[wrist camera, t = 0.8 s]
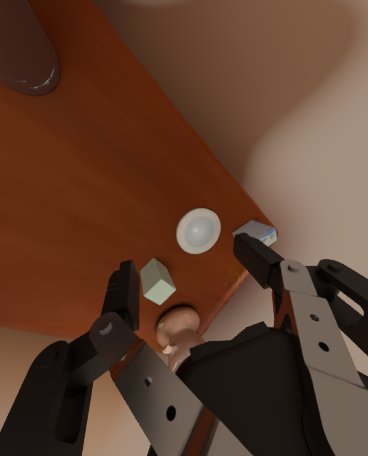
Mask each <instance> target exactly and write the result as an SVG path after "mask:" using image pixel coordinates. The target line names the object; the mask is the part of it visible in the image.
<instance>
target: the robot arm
mask: <svg viewBox="0 0 368 456" xmlns="http://www.w3.org/2000/svg"><path fill="white" fill-rule="evenodd" d="M59 76H60V66H59V61H58V57H57V54H56V52H55V50H54V48H53V45H52V44H51V42H50V40H49V38H48V37H47V35H46V33H45V31H44V30H43V28H42V26H41V24H40V22H39V20H38V19H37V17H36V15H35V13H34V12H33V10H32V8H31V6H30V5H29V3H28V1H27V0H0V81H1V82H2V83H4V84H5V85H6V86H8V87H10V88H12V89H14V90H15V91H18V92H21V93H23V94H28V95H43V94H47V93H49V92H50V91H52V90H53V89H54V88H55V87H56V85H57V83H58V81H59ZM233 252H234V255H235V257H236V258H237V259H238V260H239V261H240V262H241V264H242V265H243V266H244V267H245V268H246V269H247V270H248V272H249V273H250V274H251V275H252V276H253V277H254V278H255V280H256V281H257V282H258V283H259V284H260V285H261V286H262V288H263V289H267V288H269V287H270V288H271V289H272V300H273V310H274V327H267V326H266V324H265V323H264V322H263V321H262V322H260V323H257V324H254V325H252V326H249V327H246V328H245V329H244V330H243V331H241V332H240V333H239V334H238V335H237V336H235V337H234V338H233V339H232V340H228V341H208V342H205V343H203V344H200V345H197V346H194V347H192V348H189V351H190V355H189V356H188V357H187V358H186V359H185V360H184V361H183V362H182V363H181V364H180V366H179V367H178V369H177V370H176V372H175V373H174V372H173V371H172V370H171V369H170V368H169V367H168V366H167V365H166V364H165V363H164V362H163V360H162V359H161V358H160V357H159V356H158V355H157V354H156V353H155V352H154V351H153V349H152V348H151V347H150V346H149V345H148V344H147V343H146V342H145V341H144V340H143V339H140V338H139V337H138V336H137V335H136V334H135V333H134V331H136V330H139V291H140V282H139V276H138V273H137V270H136V268H135V265H134V262H133V260H128V261H124V262H121V263H120V269H119V270H118V271H114V273H113V274H112V275H111V277H110V279H109V283H108V287H107V292H106V296H105V300H104V304H103V308H102V312H101V316H100V317H99V318H98V319H97V320H96V321H95V322H94V323H93V325H92V326H91V328H90V330H89V331H88V332H87V333H85V334H84V335H82V336H80V337H79V338H77V339H75V340H74V341H72V342H70V343H69V344H68V343H67V342H66V341H57V342H54V343H52V344H51V345H49V346H48V347H46V348H45V349H44V350H43V351H42V352H41V353H40V354H39V355H38V356H37V357H36V358H35V360H34V361H33V363H32V364H31V366H30V368H29V371H28V373H27V375H26V377H25V379H24V381H23V384H22V386H21V388H20V390H19V392H18V395H17V397H16V399H15V401H14V403H13V405H12V408H11V410H10V412H9V414H8V416H7V418H6V421H5V423H4V425H3V427H2V429H1V432H0V456H82V450H83V444H84V438H85V431H86V424H87V419H88V412H89V406H90V400H91V393H92V387H93V381H94V380H96V379H97V378H98V377H100V376H101V375H102V374H104V373H105V372H106V371H108V370H109V371H110V373H111V378H112V380H113V381H114V383H115V385H116V387H117V388H118V390H119V391H120V393H121V395H122V397H123V398H124V400H125V401H126V403H127V405H128V406H129V408H130V410H131V412H132V413H133V415H134V416H135V418H136V420H137V421H138V423H139V425H140V426H141V428H142V430H143V431H144V433H145V434H146V436H147V438H148V440H149V441H150V443H151V445H150V448H149V451H148V454H147V456H368V376H366V375H364V374H363V373H361V372H359V371H357V370H356V367H355V365H354V363H353V360H352V358H351V355H350V353H349V351H348V349H347V346H346V344H345V341H344V339H343V337H342V335H341V332H340V330H341V331H343V333H344V334H346V335H347V336H348V337H349V338H350V339H351V340H352V341H353V342H354V343H355V344H356V345H357V346H358V347H359V348H360V349H361V350H362V351H363V352H364V353H365V354H366V355H367V356H368V279H367V278H365V277H364V276H362V275H360V274H359V273H357V272H355V271H354V270H352V269H351V268H349V267H347V266H346V265H344V264H342V263H340V262H337V261H334V260H329V259H323V260H320V262H319V263H318V265H317V266H304V265H302V264H301V263H299V262H297V261H294V260H285V259H284V258H282V257H281V256H280V255H278V254H277V253H276V252H275V251H273V250H272V249H271V248H269V247H268V246H267V245H266V244H264V243H263V242H262V241H260V240H259V239H257V238H254V237H251V236H249V235H248V234H247V233H245V232H243V233H239V234H236V235H235V236H234V247H233ZM340 291H341V292H343V293H344V294H345V295H347V296H348V297H349V298H351V299H352V300H353V301H354V302H356V303H357V304H358V305H360V306H361V308H362V309H363V311H364V316H362V315H361V314H360V313H358V312H357V311H356V310H355V309H353V308H352V307H351V306H350V305H348V304H347V303H346V302H345V301H343V300H342V299H341V298H340V297H338V296H337V295H338V293H339V292H340ZM339 329H340V330H339Z"/></svg>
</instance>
